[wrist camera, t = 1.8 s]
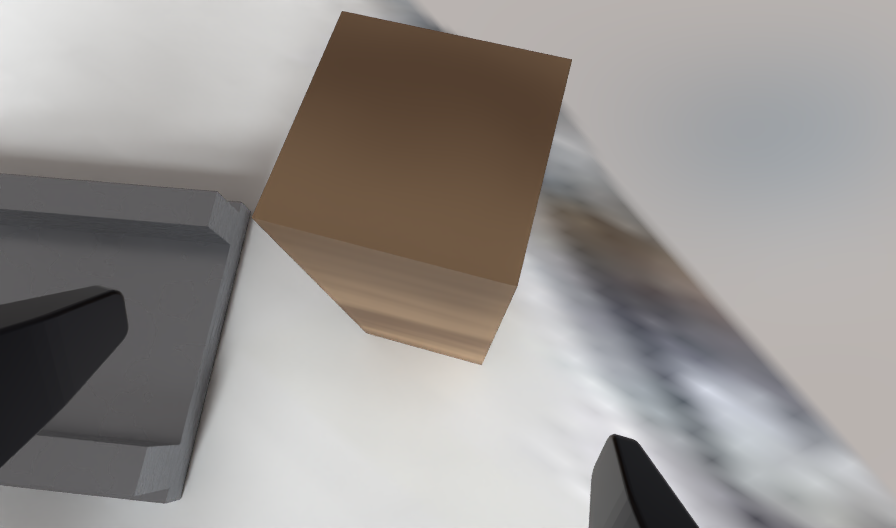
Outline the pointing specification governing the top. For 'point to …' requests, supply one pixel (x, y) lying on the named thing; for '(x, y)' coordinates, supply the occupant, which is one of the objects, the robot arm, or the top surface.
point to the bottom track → (149, 317)
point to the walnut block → (416, 179)
